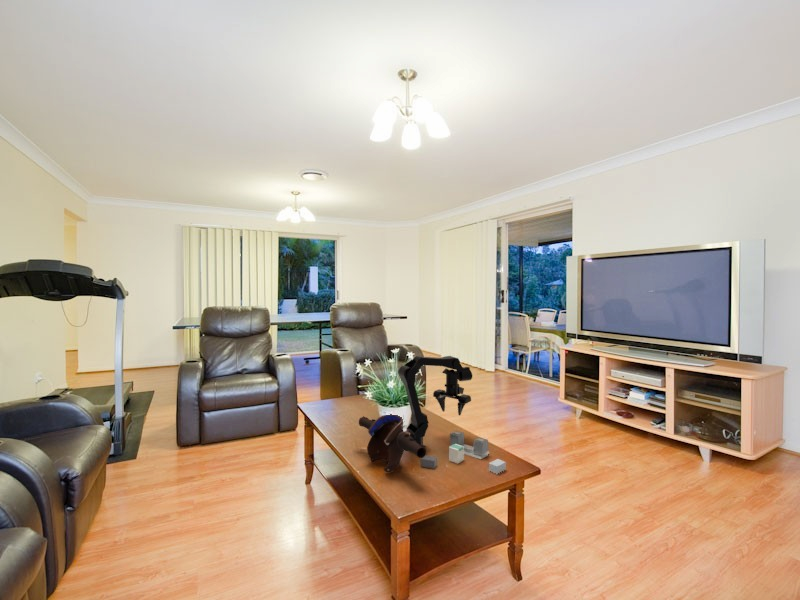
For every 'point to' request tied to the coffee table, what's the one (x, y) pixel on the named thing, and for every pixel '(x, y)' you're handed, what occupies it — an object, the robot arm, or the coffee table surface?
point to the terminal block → (497, 466)
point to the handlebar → (389, 440)
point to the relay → (429, 462)
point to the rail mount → (477, 451)
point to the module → (456, 453)
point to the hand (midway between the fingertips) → (451, 413)
